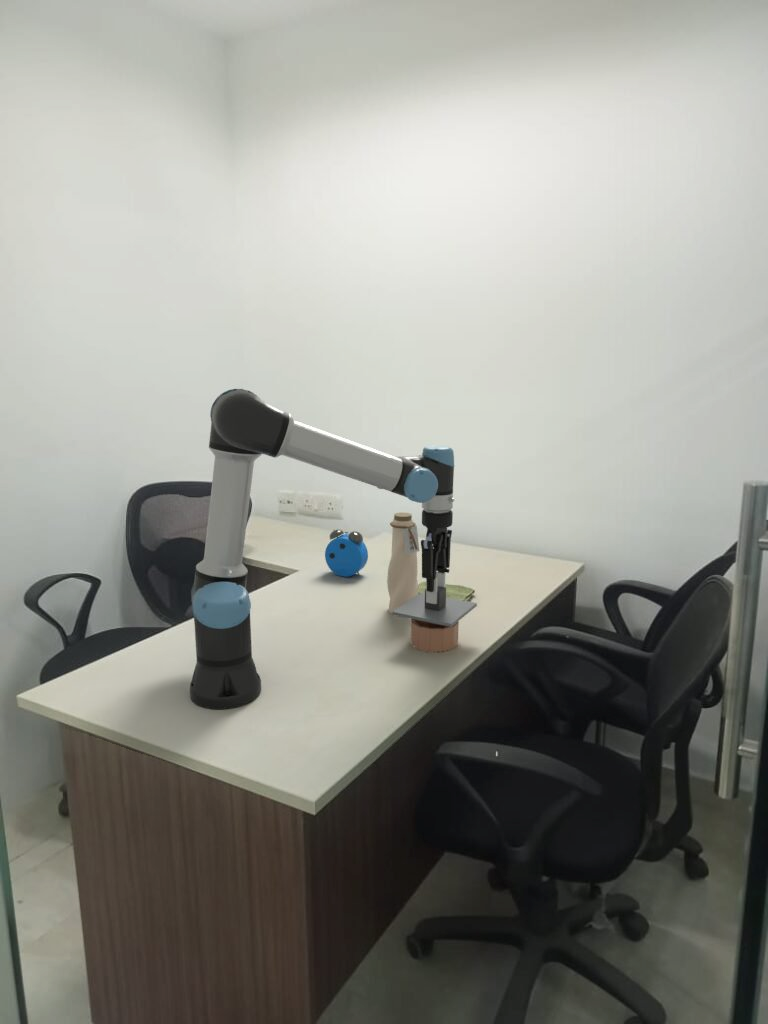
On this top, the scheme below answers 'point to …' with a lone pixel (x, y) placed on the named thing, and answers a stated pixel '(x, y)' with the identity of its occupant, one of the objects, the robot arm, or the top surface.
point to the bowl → (433, 636)
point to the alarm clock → (346, 553)
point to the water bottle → (403, 561)
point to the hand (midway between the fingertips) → (435, 599)
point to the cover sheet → (432, 615)
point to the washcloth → (452, 591)
